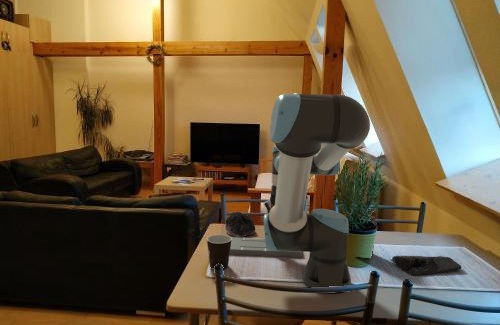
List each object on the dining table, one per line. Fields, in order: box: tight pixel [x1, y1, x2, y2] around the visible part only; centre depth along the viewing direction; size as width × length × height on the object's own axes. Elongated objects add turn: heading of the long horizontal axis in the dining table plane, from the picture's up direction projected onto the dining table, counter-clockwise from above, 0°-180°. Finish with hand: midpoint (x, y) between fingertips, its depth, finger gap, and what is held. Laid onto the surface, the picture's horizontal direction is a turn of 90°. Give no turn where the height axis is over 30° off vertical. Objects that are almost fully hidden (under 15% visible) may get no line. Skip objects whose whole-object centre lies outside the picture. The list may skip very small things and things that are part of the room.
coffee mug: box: [206, 234, 232, 270], centre depth 124 cm, size 12×9×10 cm
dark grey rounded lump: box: [225, 211, 256, 238], centre depth 158 cm, size 13×14×10 cm
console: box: [230, 236, 303, 258], centre depth 139 cm, size 14×28×2 cm, turn 87°
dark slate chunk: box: [390, 255, 462, 276], centre depth 127 cm, size 15×22×5 cm
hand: (279, 244), depth 135 cm, fingers closed
